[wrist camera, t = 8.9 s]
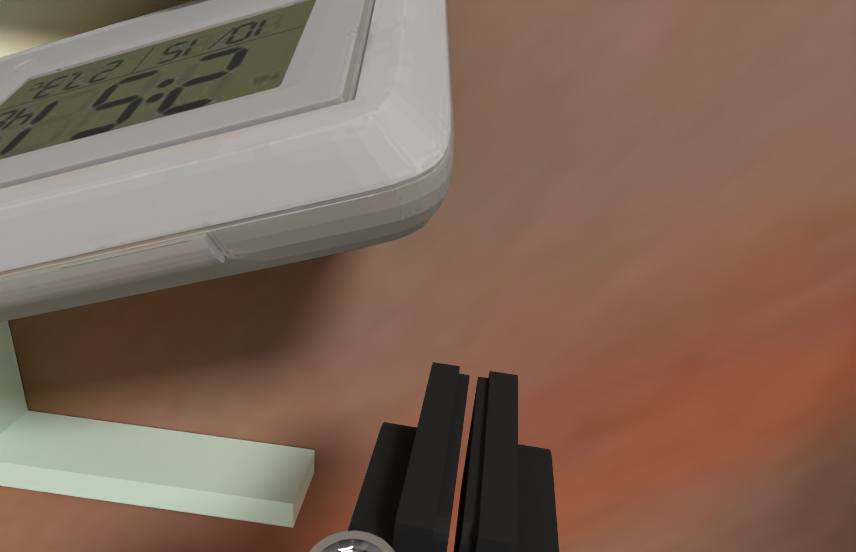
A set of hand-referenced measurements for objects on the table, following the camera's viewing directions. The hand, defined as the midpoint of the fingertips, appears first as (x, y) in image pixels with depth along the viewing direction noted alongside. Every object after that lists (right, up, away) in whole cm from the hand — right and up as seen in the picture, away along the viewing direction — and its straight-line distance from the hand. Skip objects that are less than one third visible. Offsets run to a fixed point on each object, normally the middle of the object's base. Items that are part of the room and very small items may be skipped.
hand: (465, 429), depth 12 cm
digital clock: (-7, +9, +8) cm, 14 cm away
